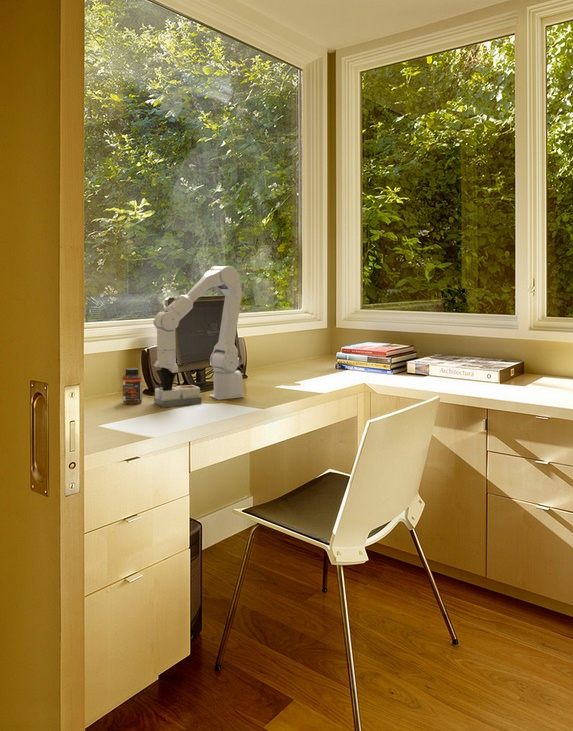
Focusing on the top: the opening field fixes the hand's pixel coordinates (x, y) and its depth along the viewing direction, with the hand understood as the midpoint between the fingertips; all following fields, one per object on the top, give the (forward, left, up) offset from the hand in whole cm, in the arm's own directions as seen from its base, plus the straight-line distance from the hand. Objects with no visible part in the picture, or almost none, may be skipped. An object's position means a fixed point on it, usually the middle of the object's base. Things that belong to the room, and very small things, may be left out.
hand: (167, 392), depth 199 cm
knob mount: (-4, 0, -4) cm, 5 cm away
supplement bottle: (+9, -8, -4) cm, 12 cm away
